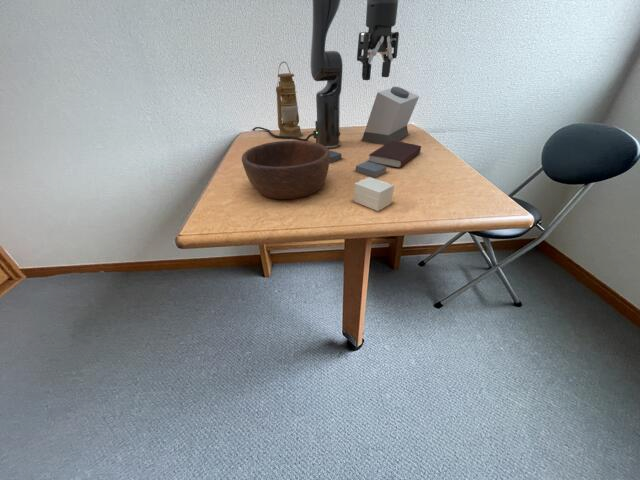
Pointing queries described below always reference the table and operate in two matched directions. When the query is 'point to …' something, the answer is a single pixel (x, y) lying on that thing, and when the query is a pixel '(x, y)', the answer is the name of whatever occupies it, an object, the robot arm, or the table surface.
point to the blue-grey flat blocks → (362, 166)
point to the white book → (374, 188)
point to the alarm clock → (390, 115)
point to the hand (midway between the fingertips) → (375, 78)
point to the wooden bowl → (287, 168)
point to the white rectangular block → (372, 201)
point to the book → (394, 154)
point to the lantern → (287, 105)
